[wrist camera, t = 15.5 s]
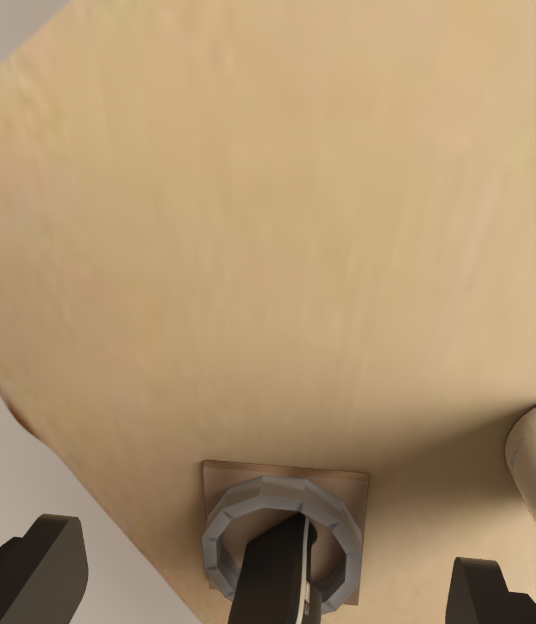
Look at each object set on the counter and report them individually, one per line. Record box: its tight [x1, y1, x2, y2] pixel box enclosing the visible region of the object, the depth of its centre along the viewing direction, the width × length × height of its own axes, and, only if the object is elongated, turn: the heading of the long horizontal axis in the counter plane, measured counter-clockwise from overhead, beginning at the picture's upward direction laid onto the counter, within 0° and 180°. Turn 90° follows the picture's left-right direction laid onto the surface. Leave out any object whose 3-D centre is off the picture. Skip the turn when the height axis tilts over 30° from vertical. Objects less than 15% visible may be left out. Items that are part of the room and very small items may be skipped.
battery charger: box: [228, 513, 322, 624], centre depth 40 cm, size 7×4×11 cm, turn 131°
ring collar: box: [202, 460, 368, 615], centre depth 45 cm, size 14×14×4 cm
